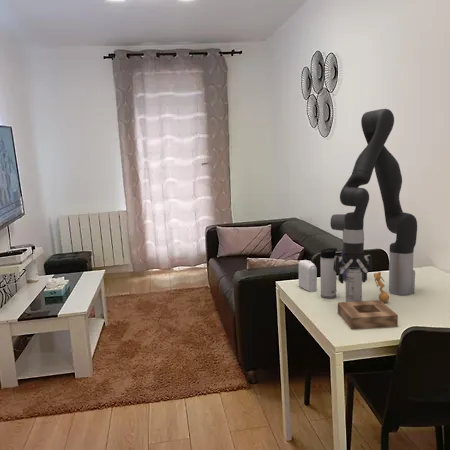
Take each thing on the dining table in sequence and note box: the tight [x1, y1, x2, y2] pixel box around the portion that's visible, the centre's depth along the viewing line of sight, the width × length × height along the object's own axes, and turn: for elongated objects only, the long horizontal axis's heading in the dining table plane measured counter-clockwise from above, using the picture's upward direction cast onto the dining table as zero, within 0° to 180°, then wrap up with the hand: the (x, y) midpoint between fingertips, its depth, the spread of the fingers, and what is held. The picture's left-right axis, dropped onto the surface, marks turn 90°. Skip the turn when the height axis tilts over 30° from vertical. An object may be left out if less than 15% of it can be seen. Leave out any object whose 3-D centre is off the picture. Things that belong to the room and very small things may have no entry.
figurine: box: [373, 271, 390, 303], centre depth 192 cm, size 8×6×12 cm
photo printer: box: [298, 259, 318, 293], centre depth 212 cm, size 10×4×12 cm, turn 21°
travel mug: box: [320, 247, 338, 300], centre depth 200 cm, size 6×7×20 cm
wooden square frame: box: [337, 299, 399, 330], centre depth 175 cm, size 16×16×4 cm
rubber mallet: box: [329, 213, 347, 281], centre depth 221 cm, size 12×8×30 cm, turn 60°
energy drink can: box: [345, 266, 363, 302], centre depth 188 cm, size 6×6×15 cm
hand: (352, 282), depth 188 cm, fingers open, 8 cm apart
